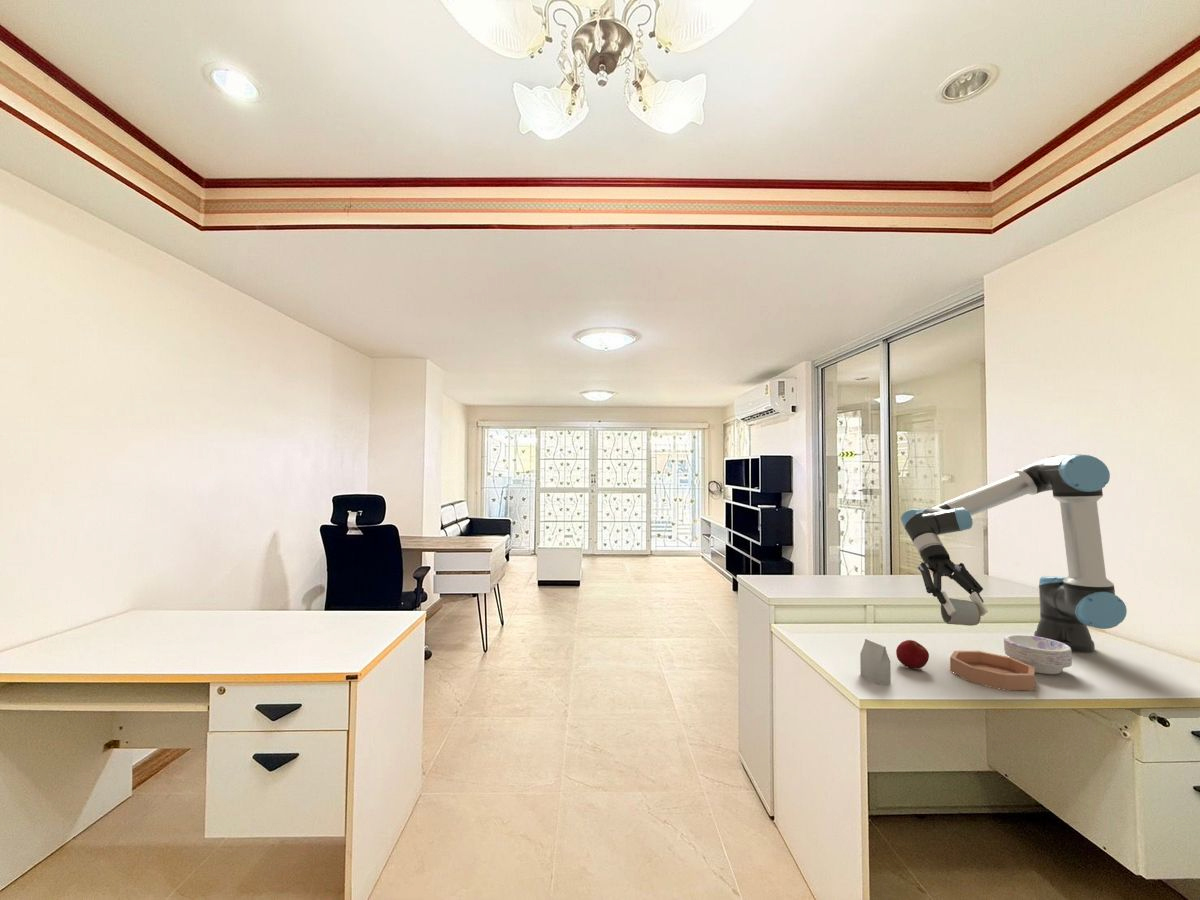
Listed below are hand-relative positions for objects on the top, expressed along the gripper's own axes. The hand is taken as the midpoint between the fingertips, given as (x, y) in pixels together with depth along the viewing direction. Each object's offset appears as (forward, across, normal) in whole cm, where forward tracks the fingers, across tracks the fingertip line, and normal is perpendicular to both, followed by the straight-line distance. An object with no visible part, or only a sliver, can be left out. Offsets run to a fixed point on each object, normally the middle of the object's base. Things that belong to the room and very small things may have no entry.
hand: (968, 613), depth 147 cm
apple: (+12, +17, -12) cm, 23 cm away
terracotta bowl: (+15, -2, -8) cm, 17 cm away
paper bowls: (+11, -21, -13) cm, 27 cm away
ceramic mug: (0, 0, -6) cm, 7 cm away
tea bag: (+17, +32, -6) cm, 37 cm away
